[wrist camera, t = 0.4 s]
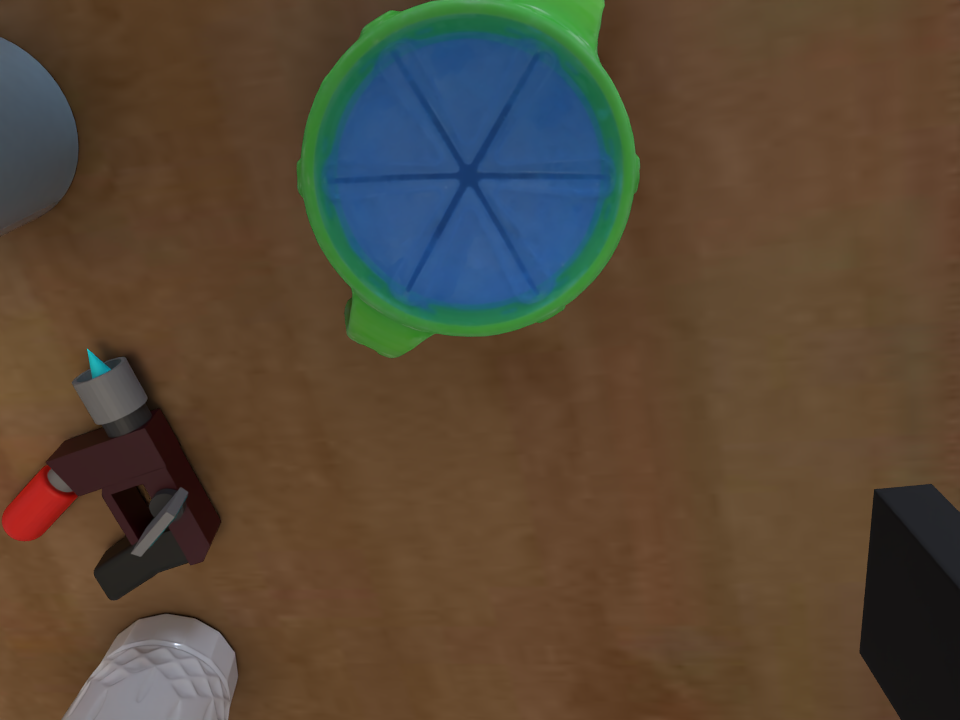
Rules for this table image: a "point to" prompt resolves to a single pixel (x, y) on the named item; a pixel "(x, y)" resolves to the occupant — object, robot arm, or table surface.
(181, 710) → the white cup
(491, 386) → the table surface
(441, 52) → the snack cup
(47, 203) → the jar
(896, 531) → the robot arm
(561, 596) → the table surface
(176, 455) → the toy gun
